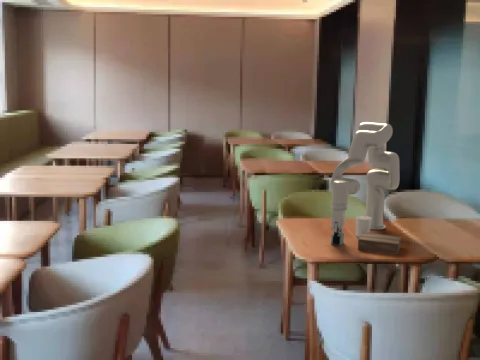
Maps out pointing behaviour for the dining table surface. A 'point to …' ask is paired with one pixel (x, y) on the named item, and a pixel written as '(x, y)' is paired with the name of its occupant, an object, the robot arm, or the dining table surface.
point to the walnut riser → (379, 243)
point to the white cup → (363, 225)
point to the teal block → (340, 238)
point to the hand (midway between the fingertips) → (337, 242)
